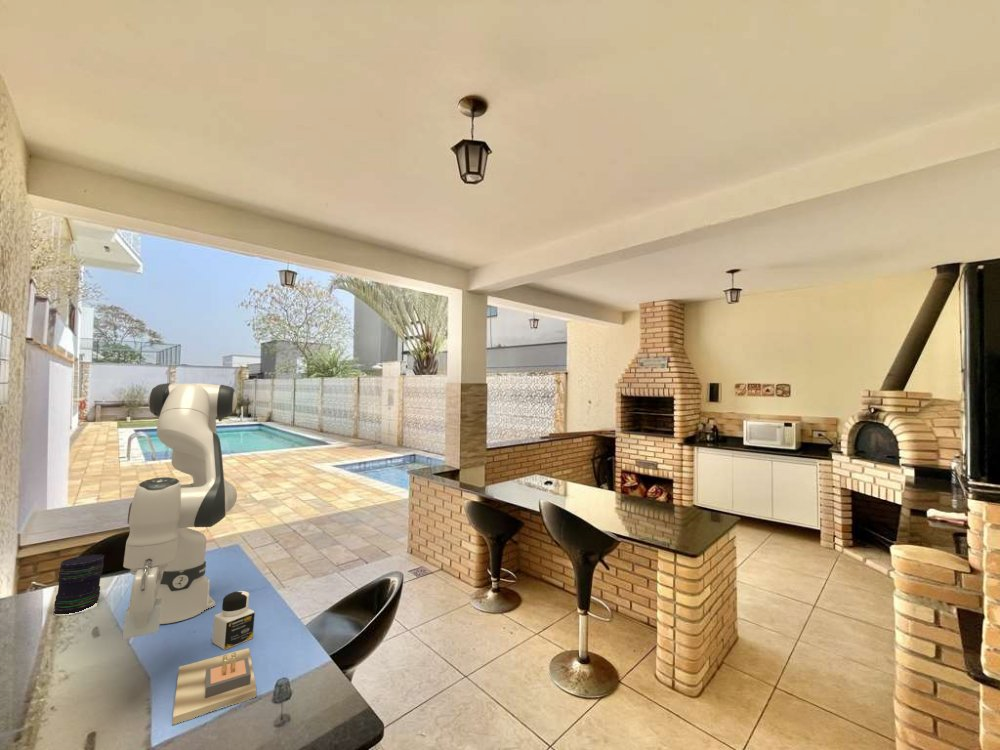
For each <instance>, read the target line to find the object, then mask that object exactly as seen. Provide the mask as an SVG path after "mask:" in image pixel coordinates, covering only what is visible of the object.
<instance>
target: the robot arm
mask: <svg viewBox="0 0 1000 750" xmlns="http://www.w3.org/2000/svg"><path fill="white" fill-rule="evenodd" d="M237 404H238V396H237V393H236V391H235V388H233V386H230V385H225V384H220V385H218V384H211V383H205V382H204V383H203V382H202V383H201V382H196V383H191V382H190V383H171V382H170V383H169V382H168V383H167V382H166V383H161V384H157V385H156V386H154V387H153V388H152V390H151V392H150V393H149V395H148V399H147V405H148V407H149V411H150V413H151V414H152V415H154V416H155V417H158V421H157V425H156V426H157V427H156V435H157V438H158V439H159V441H160V442H161V443H162V444H163V445H165V446H166V447H167V448H169V449H171V450H172V453H171V466H172V468H174V469H175V470H176V471H179V472H181V473H183V474H187V475H188V476H191V477H192V479H193V481H192V483H187V484H182V483H181V481H180V480H179V479H177V478H176V477H175V478H173V477H166V476H165V477H164V476H163V477H155V478H151V479H146V480H144V481H141V482H140V483H138V484H137V486H136V488H135V492H134V494H133V499H132V501H131V503H130V504H129V507H128V516H127V524H128V526H129V535H128V537H127V539H126V543H125V550H124V556H123V563H122V564H123V565H122V566H123V568H124V569H129V570H130V572H129V573H130V574H131V575H134V577H133V580H132V585H131V591H130V599H129V605H128V607H129V615H130V616H135V615H136V627H135V628H136V629H141V628H145V627H146V626H147V623H148V615H149V612H151V611H152V609H153V606H154V602H155V599H159V598H163V603H162V612H161V621H160V625H164V624H172V623H177V622H180V621H181V622H182V621H186V620H188V619H191V618H193V617H196V616H198V615H200V614H202V613H203V612H205V611H207V610H209V609H211V607H212V608H214V607H215V606H216V601H215V600H214V599H213V598H212V596H211V595H210V587H211V586H210V585H211V584H210V583H211V582H210V581H211V580H210V579H209V578H208V577H206V575H205V574H206V570H207V562H206V561H205V559H206V549H207V537H206V535H205V534H204V533H203V532H201V531H198V530H195V529H192V528H212V527H213V526H215V525H217V524H218V523H219V522H221V521H222V520H223V519H224V518H225V517H226V515H227V513H228V512H230V511H231V510H232V509H233V507H235V504H236V503H237V499H238V492H237V489H236V487H235V486H234V485H233V484H232V483H230V482H229V481H227V479H225V476H224V475H225V473H224V472H225V471H224V465H223V454H222V453H223V452H222V446H221V445H222V444H221V441H220V437H219V435H218V434H217V419H218V421H219V422H221V421H223V419H226V418H228V417H230V416H231V415H232V414H234V411H235V410H236V409H237V408H236V407H237V406H238V405H237ZM216 418H217V419H216ZM213 606H214V607H213ZM208 608H209V609H208ZM206 609H207V610H206ZM204 610H205V611H204ZM201 612H202V613H201Z"/></svg>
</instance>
